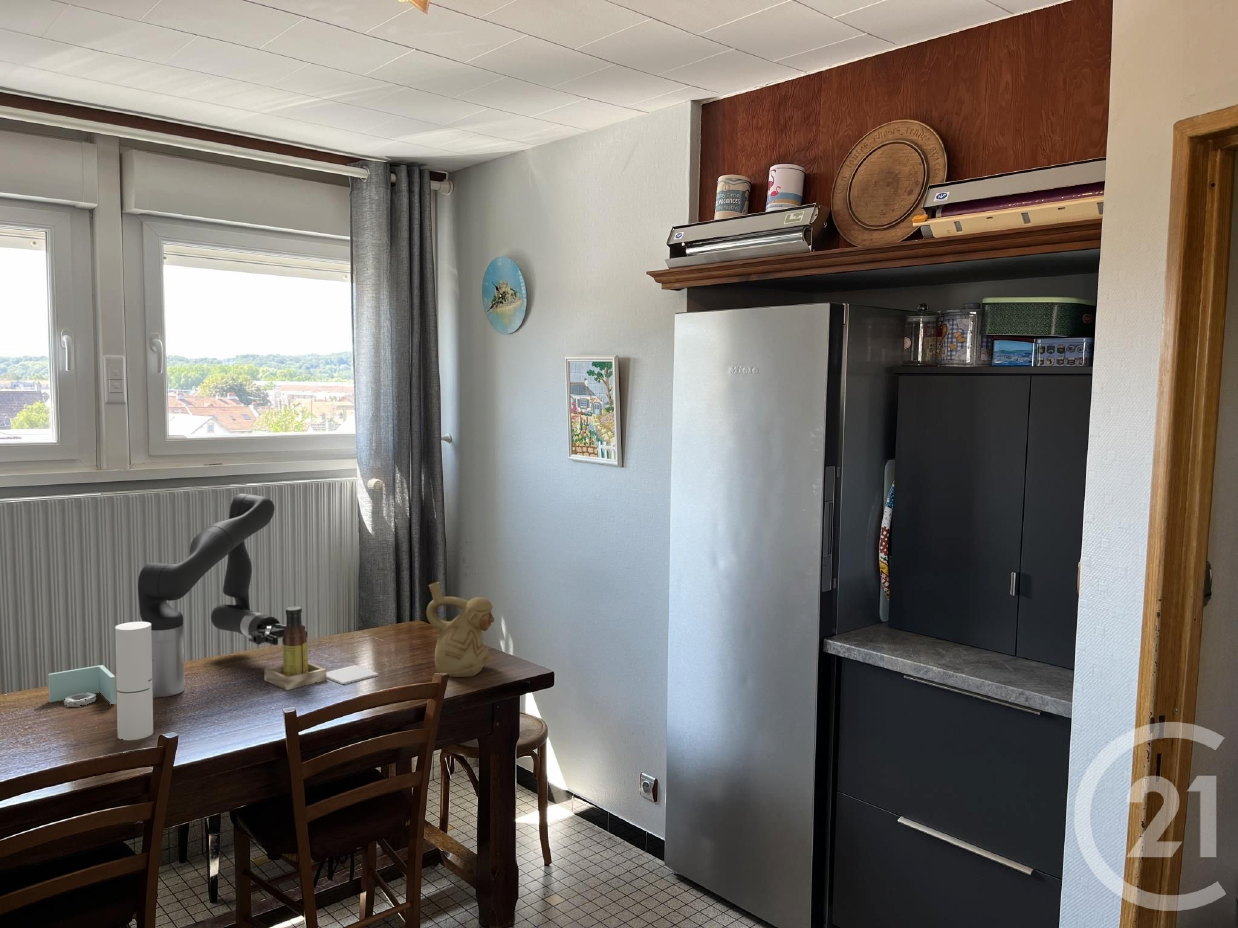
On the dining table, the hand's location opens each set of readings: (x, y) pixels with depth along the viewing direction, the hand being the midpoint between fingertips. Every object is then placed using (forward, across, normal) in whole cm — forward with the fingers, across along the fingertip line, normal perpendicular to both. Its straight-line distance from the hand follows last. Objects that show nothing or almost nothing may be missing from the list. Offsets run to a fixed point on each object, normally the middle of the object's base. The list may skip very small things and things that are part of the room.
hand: (291, 638), depth 250 cm
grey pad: (+9, +12, +11) cm, 19 cm away
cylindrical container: (+11, -45, +11) cm, 48 cm away
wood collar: (+2, 0, +11) cm, 11 cm away
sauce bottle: (+2, 0, +11) cm, 11 cm away
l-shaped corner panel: (-19, -45, +12) cm, 50 cm away
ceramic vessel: (+27, +36, +11) cm, 46 cm away
